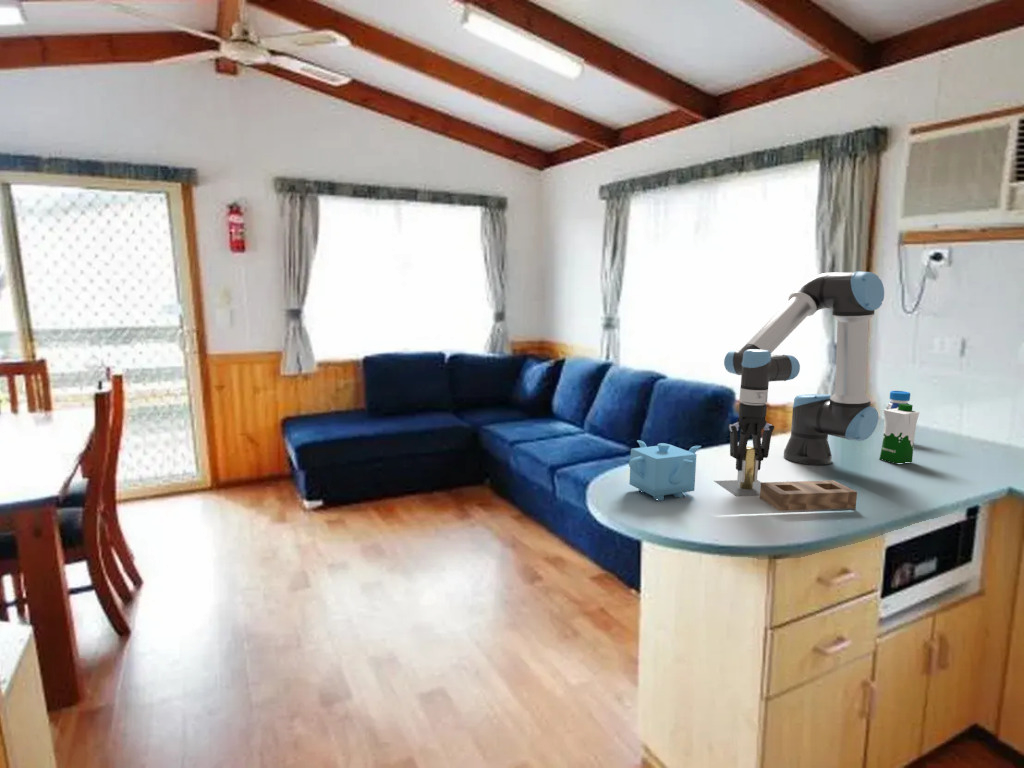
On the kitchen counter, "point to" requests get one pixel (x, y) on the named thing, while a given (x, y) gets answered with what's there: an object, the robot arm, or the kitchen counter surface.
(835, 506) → the hole block
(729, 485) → the mat
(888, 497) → the kitchen counter surface
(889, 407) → the beverage bottle
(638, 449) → the teakettle
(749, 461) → the peg
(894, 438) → the milk carton
